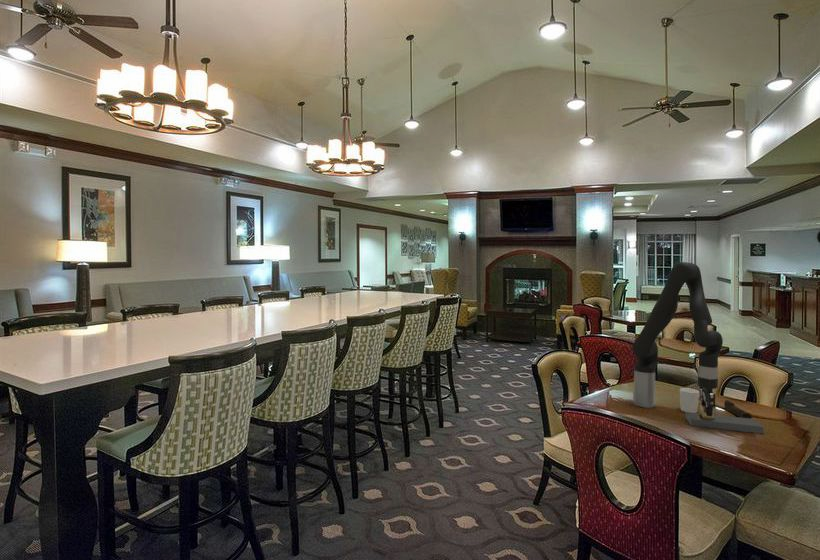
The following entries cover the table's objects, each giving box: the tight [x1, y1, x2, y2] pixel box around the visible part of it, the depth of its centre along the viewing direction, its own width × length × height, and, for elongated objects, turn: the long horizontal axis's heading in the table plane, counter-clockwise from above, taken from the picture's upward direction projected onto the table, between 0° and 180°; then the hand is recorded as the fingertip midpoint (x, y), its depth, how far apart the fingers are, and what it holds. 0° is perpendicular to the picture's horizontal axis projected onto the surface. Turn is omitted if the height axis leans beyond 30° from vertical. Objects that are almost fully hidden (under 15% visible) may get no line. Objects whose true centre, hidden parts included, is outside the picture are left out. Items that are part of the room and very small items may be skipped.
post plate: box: [685, 412, 764, 435], centre depth 194 cm, size 26×10×3 cm, turn 70°
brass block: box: [699, 404, 715, 420], centre depth 196 cm, size 4×4×8 cm
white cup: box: [679, 387, 700, 413], centre depth 214 cm, size 8×8×10 cm
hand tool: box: [723, 399, 753, 419], centre depth 209 cm, size 19×4×5 cm, turn 168°
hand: (706, 413), depth 196 cm, fingers open, 7 cm apart
